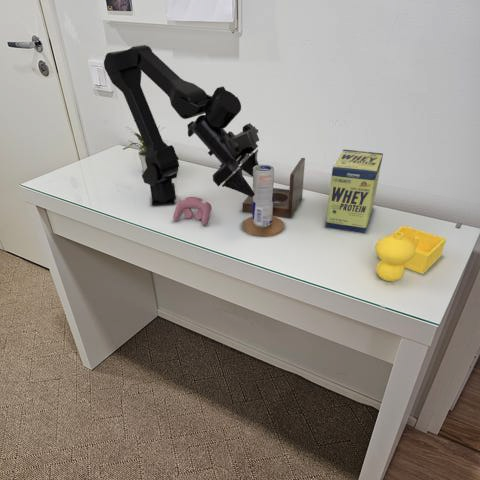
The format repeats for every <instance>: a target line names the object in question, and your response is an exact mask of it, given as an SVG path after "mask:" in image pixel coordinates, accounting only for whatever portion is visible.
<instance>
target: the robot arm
mask: <svg viewBox="0 0 480 480" xmlns="http://www.w3.org/2000/svg"><path fill="white" fill-rule="evenodd" d="M103 67H104V70H105V72H106V75H107V76H108V78H109V79H110V81H111V83H112V84H113V85H114V86H115V87H116V88H117V89H118V90H119V91H120V92H121V93H122V94H123V97H124V99H125V101H126V104H127V106H128V108H129V112H130V113H131V115H132V118H133V121H134V120H135V121H134V123H135V125H136V127H137V130H138V132H139V135H140V136H141V137H142V139H143V142H144V144H145V147H146V154H145V162H146V165H147V169H146V170H145V171H144V170H143V173H142V174H141V178H142V180H143V183H144V184H147V185H149V189H150V193H151V194H150V196H151V206H152V207H153V206H169V205H175V203H176V202H175V201H176V199H177V196H176V185H175V183H174V182H173V179H177V178H178V172H179V168H180V162H179V156H178V155H177V153H176V149H175V147H174V145H172V144H171V145H168V144H167V143H166V142H164V140H163V138H162V135H161V133H160V130H159V128H158V126H157V123H156V120H155V118H154V115H153V113H152V110H151V108H150V106H149V105H150V104H149V103H148V101H147V98H146V96H145V93H144V91H143V88H142V85H141V84H142V73H143V74H144V75H145V76H147V77H148V78H149V80H150V81H152V82H153V83H154V84H155V85H156V86H157V87H158V88H159V89H160V90H161V91H162V92H163V93H164V94H165V95H167V97H168V98H169V102H170V106H171V107H172V109H173V110H174V111H175V112H176V114H178V116H179V117H180V118H182V119H183V120H187V119H191V118H194V117H197V118H196V119H195V120H191V121H190V122H189V123H187V124H186V126H187V136H188V138H191V137H192V136H193V135H196V137H197V138H198V139H199V140H200V141H201V142H202V143H203V144H204V145H205V146H206V148H207V149H208V150H209V151H207V154H208V155H209V157H212V156H213V155H214V157H215V158H216V159H217V160H218V161H219V162H220V165H219V168H218V169H217V170H216V171H215V172H214V173H213V174H212V181H213V182H214V184H215V185H216V186H217V187H220V186H221V187H222V188H224V187H225V188H228V189H231V190H232V191H233V190H234V191H236V192H238V193H241V194H243V195H245V196H247V197H248V196H250V197H253V196H254V195H255V193H254V192H253V187H251V186H250V184H249V182H248V181H247V180H246V179H245V176H243V171H244V172H245V173H247V175H249V176H251V177H252V178H253V167H254V166H257V165H260V164H259V161H258V152H259V149H257V148H258V147H259V145H258V144H257V142H259V141H260V138H259V135H258V134H259V129H258V128H257V127H256V126H253V124H251V122H249V123H246V124H245V125H244V126H242V131H240V132H239V133H237V134H235V133H233V132H232V131H228V132H227V131H226V130H225V129H226V128H227V127H228V126H229V125H230V124H231V122H232V121H233V120H234V119H235V118H236V117H237V116H238V114H239V113H240V112H241V111H242V104H241V101H240V99H239V98H238V96H236V95H235V94H234V93H233V92H231V91H229V90H227V89H226V88H225V86H219V87H216V88H215V90H214V91H213V94H212V95H210V94H207V92H206V91H205V90H204V89H203V88H201V87H200V86H198V85H196V84H195V83H194V82H190V81H187V80H184V79H183V78H182V77H180V76H179V75H178V74H177V73H176V72H175V71H173V69H171V68H170V67H169V66H168V65H167V64H166V63H165V62H164V61H163V60H161V58H160V57H159V56H158V55H156V54H155V53H154V52H153V49H152V48H151V47H150V46H149V45H146V44H142V45H134V46H131V47H130V48H128V49H123V50H118V51H110V52H107V53H106V54H105V56H104V59H103Z"/></svg>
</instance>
